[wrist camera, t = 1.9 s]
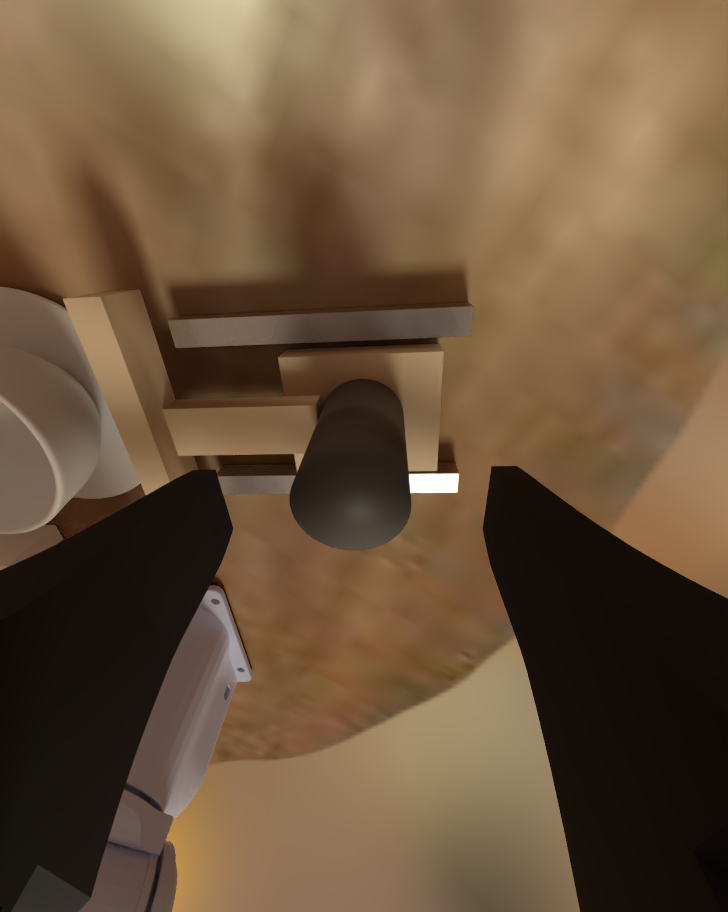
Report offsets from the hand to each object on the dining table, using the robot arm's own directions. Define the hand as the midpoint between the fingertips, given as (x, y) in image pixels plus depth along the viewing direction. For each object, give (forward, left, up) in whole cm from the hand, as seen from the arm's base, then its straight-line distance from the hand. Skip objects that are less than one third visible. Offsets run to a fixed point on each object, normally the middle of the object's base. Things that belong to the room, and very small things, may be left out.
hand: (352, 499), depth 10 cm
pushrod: (0, +3, -7) cm, 7 cm away
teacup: (0, +14, -7) cm, 16 cm away
